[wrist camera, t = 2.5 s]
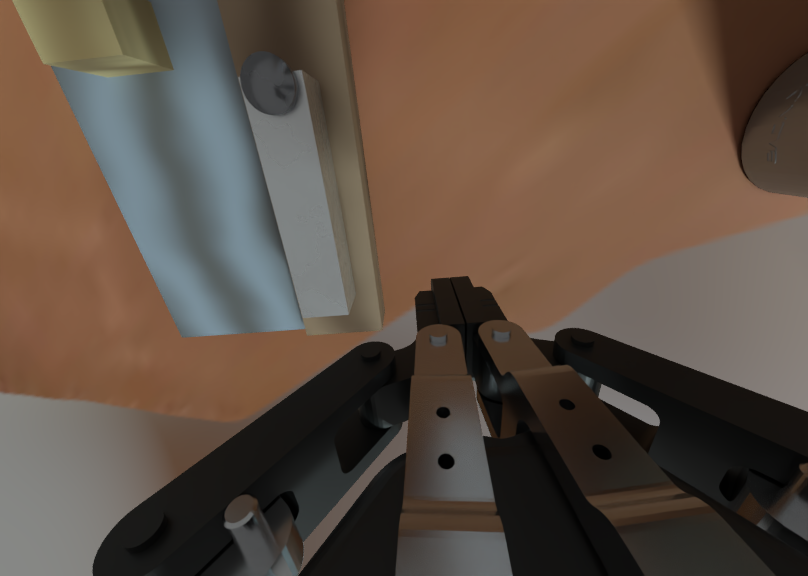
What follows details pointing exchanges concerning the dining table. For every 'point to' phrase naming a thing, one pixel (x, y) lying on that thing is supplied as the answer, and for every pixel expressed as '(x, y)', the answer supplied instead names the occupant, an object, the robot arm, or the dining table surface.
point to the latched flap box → (209, 146)
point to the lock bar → (300, 181)
